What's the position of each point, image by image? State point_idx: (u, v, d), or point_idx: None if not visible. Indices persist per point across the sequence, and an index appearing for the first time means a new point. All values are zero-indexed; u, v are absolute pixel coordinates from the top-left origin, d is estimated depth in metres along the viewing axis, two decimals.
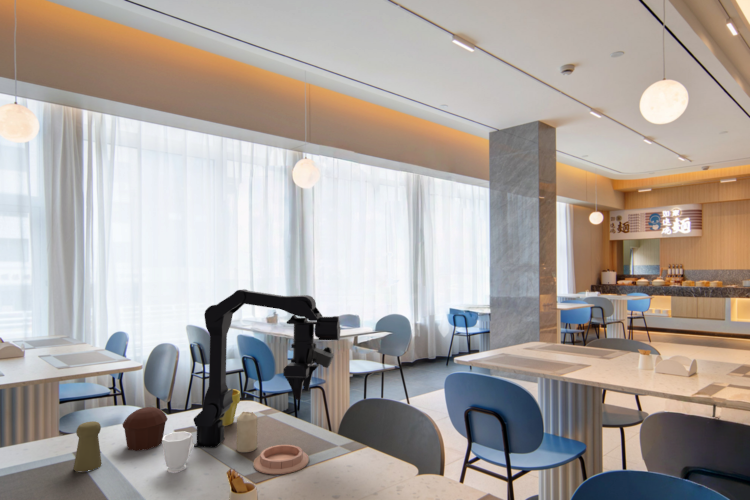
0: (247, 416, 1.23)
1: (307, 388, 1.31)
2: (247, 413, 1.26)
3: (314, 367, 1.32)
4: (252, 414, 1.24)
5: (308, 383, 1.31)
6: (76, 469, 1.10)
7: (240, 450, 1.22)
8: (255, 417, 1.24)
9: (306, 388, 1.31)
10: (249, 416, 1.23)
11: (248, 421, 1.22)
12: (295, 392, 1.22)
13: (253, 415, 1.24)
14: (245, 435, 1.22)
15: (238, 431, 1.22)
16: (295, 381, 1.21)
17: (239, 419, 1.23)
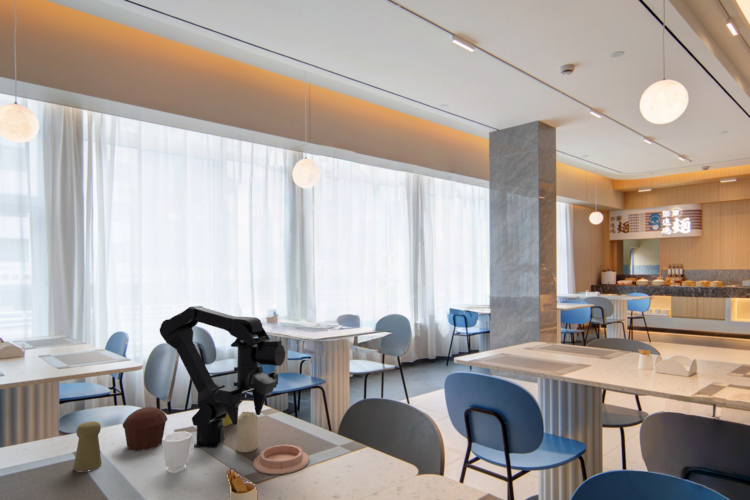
0: (247, 416, 1.23)
1: (258, 412, 1.29)
2: (247, 413, 1.26)
3: None
4: (252, 414, 1.24)
5: (259, 407, 1.29)
6: (76, 469, 1.10)
7: (240, 450, 1.22)
8: (255, 417, 1.24)
9: (257, 412, 1.29)
10: (249, 416, 1.23)
11: (248, 421, 1.22)
12: (231, 417, 1.20)
13: (253, 415, 1.24)
14: (245, 435, 1.22)
15: (238, 431, 1.22)
16: (230, 406, 1.20)
17: (239, 419, 1.23)
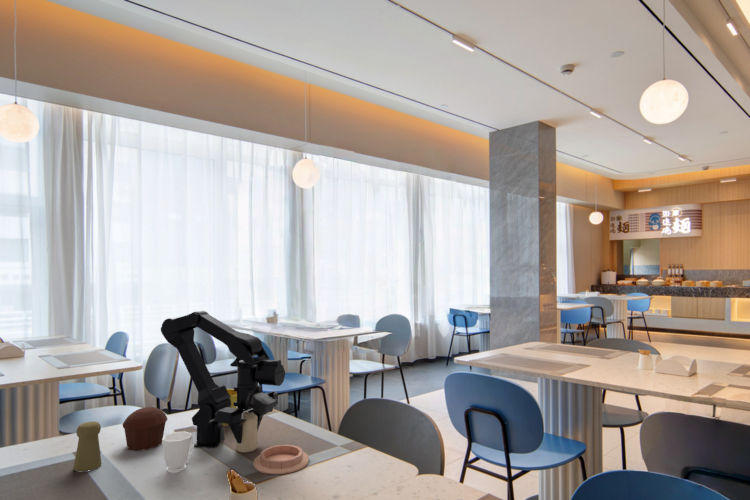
0: (247, 416, 1.23)
1: None
2: (247, 413, 1.26)
3: None
4: (252, 414, 1.24)
5: None
6: (76, 469, 1.10)
7: (240, 450, 1.22)
8: (255, 417, 1.24)
9: None
10: (249, 416, 1.23)
11: (248, 421, 1.22)
12: (235, 435, 1.21)
13: (253, 415, 1.24)
14: (245, 435, 1.22)
15: None
16: (234, 424, 1.21)
17: None
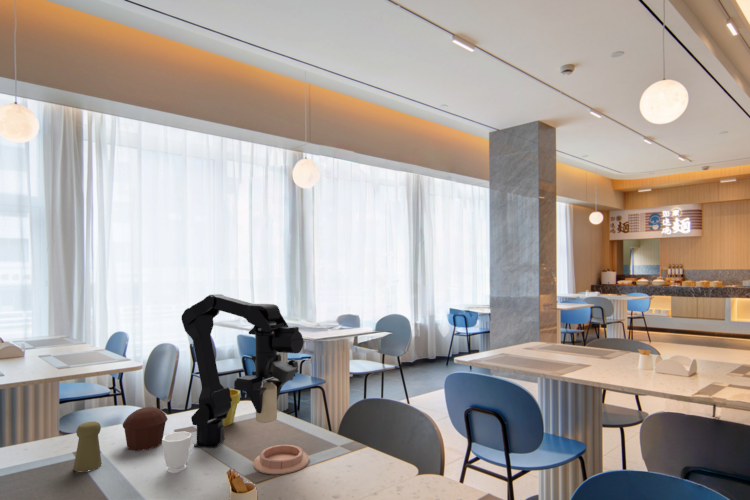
0: (266, 385, 1.19)
1: None
2: (266, 383, 1.22)
3: (280, 382, 1.23)
4: (271, 384, 1.20)
5: None
6: (76, 469, 1.10)
7: (260, 420, 1.18)
8: (275, 387, 1.20)
9: None
10: (268, 385, 1.19)
11: (268, 390, 1.18)
12: (255, 405, 1.17)
13: (272, 385, 1.20)
14: (265, 404, 1.18)
15: None
16: (254, 393, 1.17)
17: None
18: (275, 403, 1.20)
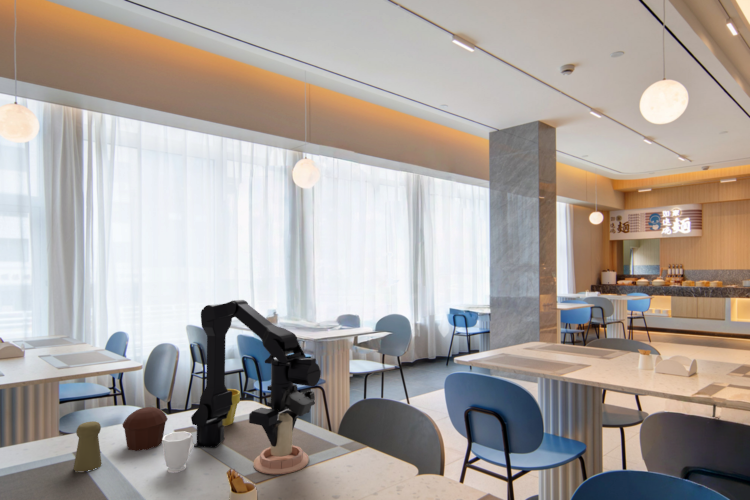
0: (282, 417, 1.14)
1: None
2: (281, 414, 1.17)
3: None
4: (287, 415, 1.16)
5: None
6: (76, 469, 1.10)
7: (275, 454, 1.13)
8: (290, 419, 1.16)
9: None
10: (284, 417, 1.15)
11: (283, 423, 1.14)
12: (270, 438, 1.13)
13: (288, 416, 1.16)
14: (280, 438, 1.13)
15: None
16: (269, 426, 1.13)
17: None
18: (291, 436, 1.15)
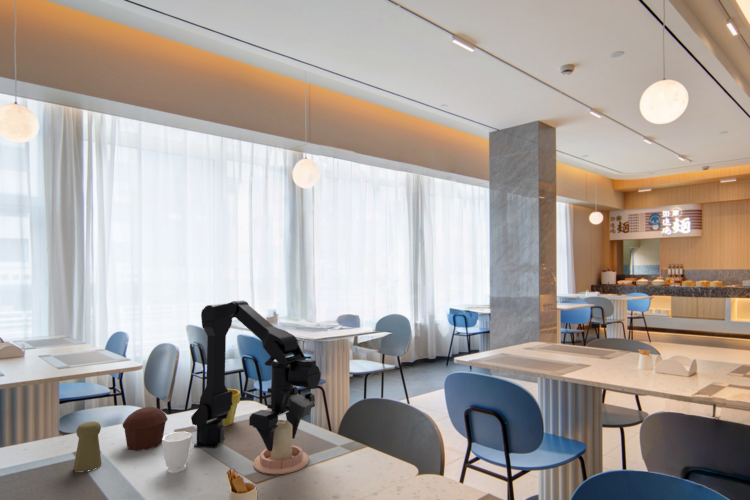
0: (282, 425, 1.14)
1: (293, 436, 1.20)
2: (281, 421, 1.17)
3: None
4: (287, 422, 1.15)
5: (294, 430, 1.20)
6: (76, 469, 1.10)
7: None
8: (290, 426, 1.16)
9: (292, 436, 1.20)
10: (284, 425, 1.15)
11: (283, 430, 1.13)
12: (266, 442, 1.11)
13: (288, 423, 1.15)
14: (280, 445, 1.13)
15: None
16: (265, 430, 1.11)
17: None
18: (290, 443, 1.15)
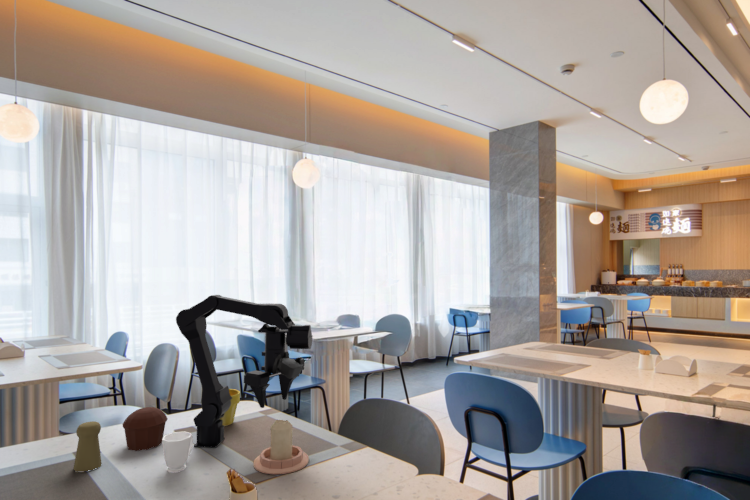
0: (282, 425, 1.14)
1: (284, 397, 1.31)
2: (281, 421, 1.17)
3: None
4: (287, 422, 1.15)
5: (285, 392, 1.31)
6: (76, 469, 1.10)
7: None
8: (290, 426, 1.16)
9: (284, 397, 1.31)
10: (284, 425, 1.15)
11: (283, 430, 1.13)
12: (258, 400, 1.23)
13: (288, 423, 1.15)
14: (280, 445, 1.13)
15: (272, 441, 1.14)
16: (258, 389, 1.23)
17: (273, 428, 1.14)
18: (290, 443, 1.15)
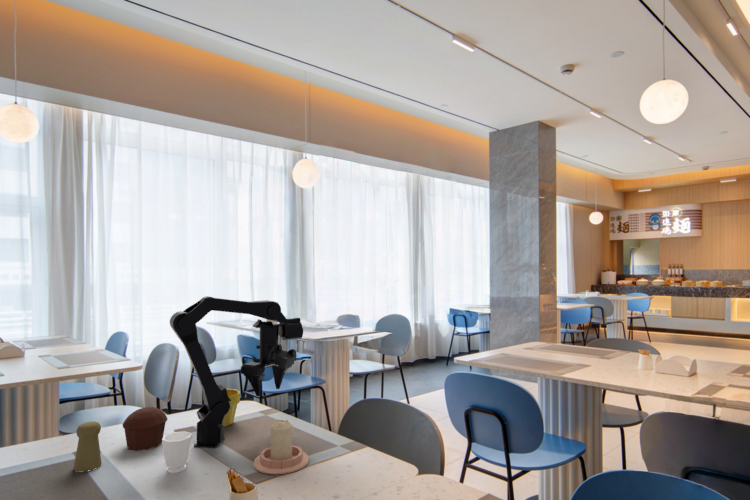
0: (282, 425, 1.14)
1: (278, 386, 1.41)
2: (281, 421, 1.17)
3: None
4: (287, 422, 1.16)
5: (279, 382, 1.42)
6: (76, 469, 1.10)
7: None
8: (290, 426, 1.16)
9: (277, 386, 1.42)
10: (284, 425, 1.15)
11: (283, 430, 1.14)
12: (254, 389, 1.33)
13: (288, 423, 1.16)
14: (280, 445, 1.13)
15: (272, 441, 1.14)
16: (254, 379, 1.33)
17: (273, 428, 1.14)
18: (290, 443, 1.15)
